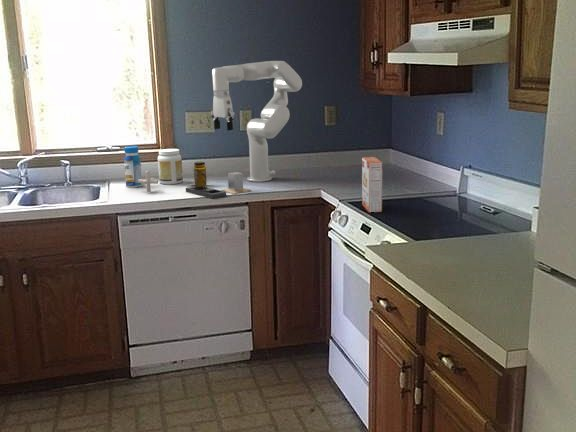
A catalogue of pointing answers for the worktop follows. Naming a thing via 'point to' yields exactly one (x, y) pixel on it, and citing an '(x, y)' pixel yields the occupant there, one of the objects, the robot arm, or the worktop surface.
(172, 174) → the supplement tub
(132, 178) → the beverage bottle
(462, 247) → the worktop surface
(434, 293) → the worktop surface
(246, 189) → the oak coaster
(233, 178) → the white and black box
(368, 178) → the cracker box
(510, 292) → the worktop surface
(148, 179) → the pipe connector
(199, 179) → the condiment
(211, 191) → the rack rail
